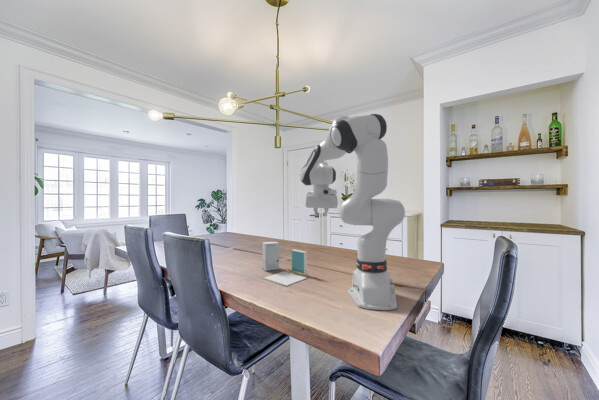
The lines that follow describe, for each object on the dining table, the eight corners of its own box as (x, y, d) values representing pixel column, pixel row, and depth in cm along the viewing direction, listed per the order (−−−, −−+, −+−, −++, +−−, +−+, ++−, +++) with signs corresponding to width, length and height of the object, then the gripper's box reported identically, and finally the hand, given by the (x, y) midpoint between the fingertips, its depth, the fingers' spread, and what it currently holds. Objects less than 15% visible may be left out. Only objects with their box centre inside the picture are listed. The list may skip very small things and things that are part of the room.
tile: (294, 271, 133) (294, 249, 133) (307, 275, 127) (306, 251, 127) (291, 272, 132) (291, 249, 132) (304, 276, 126) (304, 252, 126)
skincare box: (265, 271, 134) (265, 243, 134) (261, 268, 140) (261, 242, 139) (279, 269, 138) (279, 242, 138) (275, 266, 143) (275, 240, 143)
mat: (284, 272, 133) (284, 271, 133) (306, 278, 122) (306, 277, 122) (263, 278, 122) (263, 277, 122) (286, 286, 112) (286, 285, 112)
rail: (287, 271, 133) (287, 268, 133) (307, 277, 124) (307, 274, 124) (285, 272, 132) (285, 269, 132) (305, 277, 123) (305, 274, 123)
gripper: (303, 191, 143) (303, 215, 143) (332, 190, 129) (332, 217, 130) (310, 191, 148) (310, 215, 148) (339, 191, 134) (339, 216, 134)
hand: (321, 216), depth 139 cm, fingers open, 4 cm apart
